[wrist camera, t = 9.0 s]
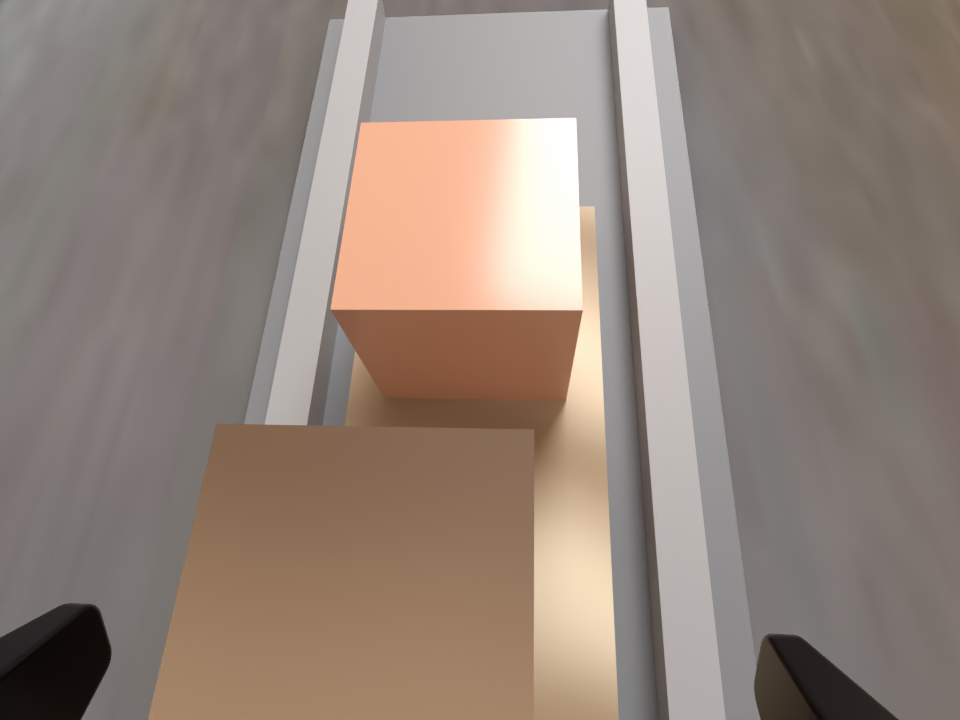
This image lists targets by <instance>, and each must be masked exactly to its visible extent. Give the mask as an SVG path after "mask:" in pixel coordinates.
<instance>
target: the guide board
mask: <svg viewBox="0 0 960 720" xmlns="http://www.w3.org/2000/svg"><path fill="white" fill-rule="evenodd" d="M548 118H576V126H577V155H578V185H579V207H582V206H595V227H596V248H597V269H598V290H599V311H600V333H601V354H602V375H603V396H604V417H605V438H606V459H607V480H608V501H609V522H610V544H611V565H612V586H613V607H614V628H615V649H616V670H617V691H618V712H619V720H761V719H760V716H759V712H758V708H757V704H756V700H755V694H754V679H755V674H756V661H755V654H754V646H753V639H752V631H751V624H750V616H749V609H748V601H747V594H746V586H745V579H744V571H743V564H742V556H741V549H740V541H739V534H738V526H737V519H736V511H735V504H734V496H733V489H732V481H731V474H730V466H729V459H728V451H727V444H726V436H725V429H724V421H723V414H722V406H721V398H720V391H719V383H718V376H717V368H716V361H715V353H714V346H713V338H712V331H711V323H710V316H709V308H708V301H707V293H706V286H705V278H704V271H703V263H702V256H701V248H700V241H699V233H698V226H697V218H696V211H695V203H694V196H693V188H692V181H691V173H690V166H689V158H688V151H687V143H686V136H685V128H684V120H683V113H682V105H681V98H680V90H679V83H678V75H677V68H676V60H675V53H674V45H673V38H672V30H671V23H670V15H669V8H668V7H663V8H647V5H646V0H609V8H608V9H607V10H580V11H552V12H525V13H497V14H470V15H442V16H414V17H387V18H386V16H385V11H384V7H383V3H382V0H348V5H347V10H346V15H345V19H332V20H330V22H329V27H328V31H327V36H326V41H325V45H324V50H323V55H322V60H321V64H320V69H319V74H318V78H317V83H316V88H315V93H314V97H313V102H312V107H311V111H310V116H309V121H308V126H307V130H306V135H305V140H304V144H303V149H302V154H301V158H300V163H299V168H298V173H297V177H296V182H295V187H294V191H293V196H292V201H291V206H290V210H289V215H288V220H287V224H286V229H285V234H284V239H283V243H282V248H281V253H280V257H279V262H278V267H277V272H276V276H275V281H274V286H273V290H272V295H271V300H270V305H269V309H268V314H267V319H266V323H265V328H264V333H263V338H262V342H261V347H260V352H259V356H258V361H257V366H256V371H255V375H254V380H253V385H252V389H251V394H250V399H249V403H248V408H247V413H246V418H245V422H244V424H263V425H317V426H345V419H346V412H347V405H348V398H349V391H350V384H351V377H352V369H353V362H354V355H355V349H354V348H353V346H352V344H351V343H350V341H349V339H348V338H347V336H346V334H345V333H344V331H343V330H342V328H341V326H340V325H339V323H338V321H337V320H336V318H335V316H334V315H333V313H332V311H331V310H330V309H331V303H332V297H333V291H334V285H335V279H336V273H337V266H338V260H339V254H340V248H341V242H342V236H343V230H344V224H345V218H346V211H347V205H348V199H349V193H350V187H351V181H352V175H353V169H354V162H355V156H356V150H357V144H358V138H359V132H360V126H361V123H369V122H414V121H459V120H503V119H548Z"/></svg>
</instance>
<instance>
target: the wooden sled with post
mask: <svg viewBox="0 0 960 720" xmlns="http://www.w3.org/2000/svg"><path fill="white" fill-rule="evenodd" d="M579 214H580V243H581V272H582V301H583V312H582V317H581V323H580V328H579V334H578V339H577V345H576V350H575V355H574V361H573V366H572V372H571V377H570V382H569V388H568V393H567V399H566V400H502V399H433V398H384V397H383V395H382V394H381V392H380V390H379V389H378V387H377V385H376V384H375V382H374V381H373V379H372V377H371V376H370V374H369V372H368V371H367V369H366V367H365V366H364V364H363V362H362V361H361V359H360V357H359V356H358V354H357V353H356V351H355V355H354V362H353V369H352V377H351V384H350V391H349V398H348V405H347V412H346V419H345V426H317V425H263V424H216V428H215V433H214V437H213V441H212V446H211V450H210V454H209V459H208V463H207V467H206V472H205V476H204V480H203V484H202V489H201V493H200V497H199V502H198V506H197V510H196V515H195V519H194V523H193V528H192V532H191V536H190V540H189V545H188V549H187V553H186V558H185V562H184V566H183V571H182V575H181V579H180V584H179V588H178V592H177V596H176V601H175V605H174V609H173V614H172V618H171V622H170V627H169V631H168V635H167V640H166V644H165V648H164V653H163V657H162V661H161V665H160V670H159V674H158V678H157V683H156V687H155V691H154V696H153V700H152V704H151V709H150V713H149V717H148V720H619V712H618V691H617V670H616V649H615V628H614V607H613V586H612V565H611V544H610V522H609V501H608V480H607V459H606V438H605V417H604V396H603V375H602V354H601V333H600V311H599V290H598V269H597V248H596V227H595V206H582V207H579Z"/></svg>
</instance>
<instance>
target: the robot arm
mask: <svg viewBox="0 0 960 720" xmlns="http://www.w3.org/2000/svg"><path fill="white" fill-rule="evenodd" d="M110 660H111V645H110V641H109V638H108V635H107V631H106V628H105V625H104V621H103V618H102V615H101V612H100V610H99V609H98V608H97V607H96V606H95V605H92V604H79V603H68V604H63V605H61V606H59V607H57V608H55V609H53V610H51V611H49V612H47V613H45V614H44V615H42V616H40V617H38V618H36V619H34V620H32V621H31V622H29V623H27V624H25V625H23V626H21V627H19V628H18V629H16V630H14V631H12V632H10V633H8V634H6V635H4V636H3V637H1V638H0V720H81V719H82V717H83V715H84V713H85V711H86V709H87V707H88V705H89V703H90V701H91V700H92V698H93V696H94V694H95V692H96V690H97V688H98V686H99V684H100V682H101V680H102V678H103V677H104V675H105V673H106V671H107V669H108V666H109V663H110ZM754 694H755V700H756V704H757V708H758V712H759V716H760V719H761V720H899V719H897V718H896V717H895V716H894V715H893V714H891V713H890V712H889V711H888V710H887V709H886V708H884V707H883V706H882V705H881V704H880V703H878V702H877V701H876V700H875V699H874V698H873V697H871V696H870V695H869V694H868V693H867V692H866V691H864V690H863V689H862V688H861V687H860V686H858V685H857V684H856V683H855V682H854V681H853V680H851V679H850V678H849V677H848V676H847V675H845V674H844V673H843V672H842V671H841V670H840V669H838V668H837V667H836V666H835V665H834V664H832V663H831V662H830V661H829V660H828V659H827V658H825V657H824V656H823V655H822V654H821V653H820V652H818V651H817V650H816V649H815V648H814V647H812V646H811V645H810V644H809V643H808V642H807V641H805V640H804V639H803V638H801V637H799V636H796V635H786V634H768V635H766V636H764V638H763V639H762V642H761V647H760V652H759V658H758V663H757V668H756V674H755V679H754Z"/></svg>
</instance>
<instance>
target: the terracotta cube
mask: <svg viewBox="0 0 960 720" xmlns="http://www.w3.org/2000/svg"><path fill="white" fill-rule="evenodd" d="M330 310H331V311H332V313H333V315H334V316H335V318H336V320H337V321H338V323H339V325H340V326H341V328H342V330H343V331H344V333H345V334H346V336H347V338H348V339H349V341H350V343H351V344H352V346H353V348H354V349H355V351H356V353H357V354H358V356H359V357H360V359H361V361H362V362H363V364H364V366H365V367H366V369H367V371H368V372H369V374H370V376H371V377H372V379H373V381H374V382H375V384H376V385H377V387H378V389H379V390H380V392H381V394H382V395H383V397H384V398H433V399H502V400H566V399H567V393H568V388H569V382H570V377H571V372H572V366H573V361H574V355H575V350H576V345H577V339H578V334H579V328H580V323H581V317H582V312H583V301H582V272H581V243H580V214H579V185H578V155H577V126H576V118H548V119H503V120H459V121H414V122H369V123H361V126H360V132H359V138H358V144H357V150H356V156H355V162H354V169H353V175H352V181H351V187H350V193H349V199H348V205H347V211H346V218H345V224H344V230H343V236H342V242H341V248H340V254H339V260H338V266H337V273H336V279H335V285H334V291H333V297H332V303H331V309H330Z"/></svg>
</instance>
